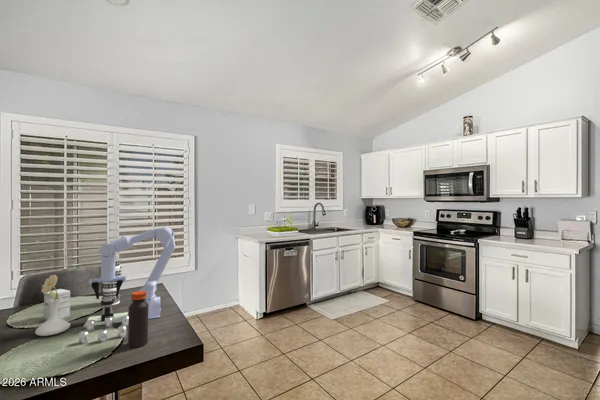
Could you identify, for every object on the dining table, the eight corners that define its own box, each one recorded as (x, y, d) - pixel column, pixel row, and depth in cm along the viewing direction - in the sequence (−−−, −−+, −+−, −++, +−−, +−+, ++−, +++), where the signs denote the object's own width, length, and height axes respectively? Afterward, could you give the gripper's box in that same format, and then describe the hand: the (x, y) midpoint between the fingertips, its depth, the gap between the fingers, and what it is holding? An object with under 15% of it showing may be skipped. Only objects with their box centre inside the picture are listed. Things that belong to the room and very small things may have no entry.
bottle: (143, 338, 119) (144, 289, 120) (150, 343, 115) (151, 292, 116) (125, 344, 114) (126, 292, 115) (132, 350, 110) (133, 296, 110)
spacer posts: (129, 322, 135) (130, 313, 135) (125, 338, 119) (125, 328, 119) (87, 328, 128) (87, 319, 129) (76, 346, 112) (77, 336, 112)
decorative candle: (104, 301, 164) (105, 256, 164) (122, 299, 167) (123, 255, 167) (98, 306, 155) (99, 259, 156) (118, 305, 158) (119, 258, 158)
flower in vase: (35, 331, 125) (37, 272, 125) (69, 324, 132) (71, 269, 132) (34, 342, 115) (35, 278, 115) (71, 334, 122) (72, 274, 122)
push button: (97, 323, 132) (97, 301, 133) (96, 320, 137) (96, 298, 137) (114, 320, 136) (115, 298, 137) (113, 317, 141) (113, 295, 141)
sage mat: (128, 312, 147) (128, 312, 147) (125, 321, 136) (125, 320, 136) (89, 317, 140) (89, 316, 140) (83, 327, 129) (83, 326, 129)
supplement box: (42, 319, 138) (43, 292, 138) (60, 314, 145) (61, 288, 145) (52, 322, 135) (53, 294, 135) (70, 316, 142) (70, 290, 142)
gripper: (87, 271, 132) (86, 302, 132) (125, 268, 138) (124, 298, 138) (91, 268, 138) (90, 297, 138) (126, 266, 145) (126, 293, 144)
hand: (107, 297), depth 138 cm, fingers open, 7 cm apart
